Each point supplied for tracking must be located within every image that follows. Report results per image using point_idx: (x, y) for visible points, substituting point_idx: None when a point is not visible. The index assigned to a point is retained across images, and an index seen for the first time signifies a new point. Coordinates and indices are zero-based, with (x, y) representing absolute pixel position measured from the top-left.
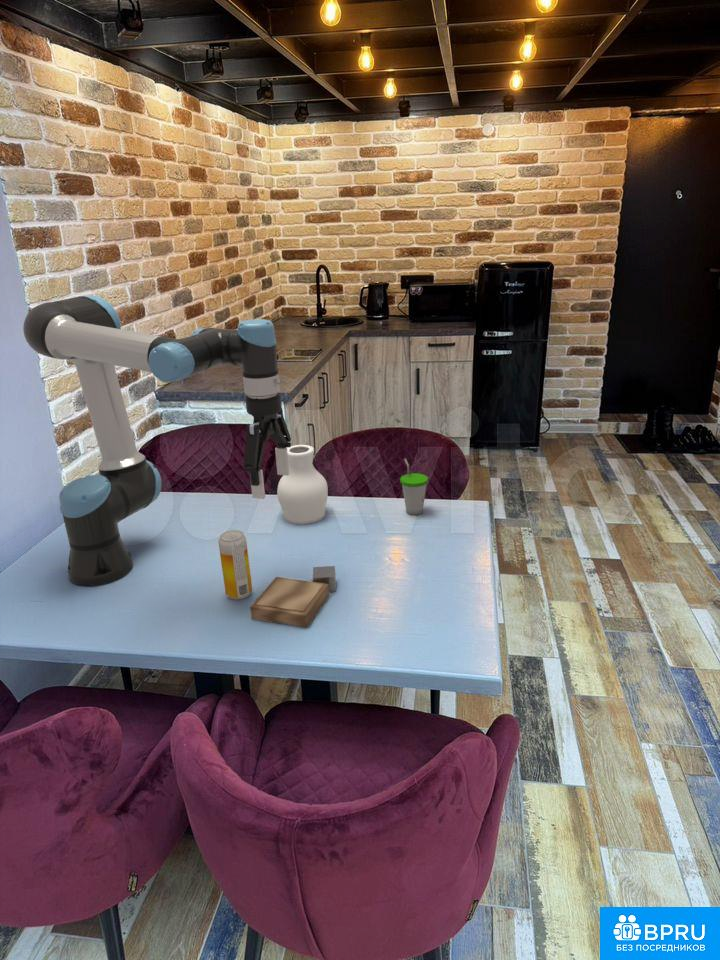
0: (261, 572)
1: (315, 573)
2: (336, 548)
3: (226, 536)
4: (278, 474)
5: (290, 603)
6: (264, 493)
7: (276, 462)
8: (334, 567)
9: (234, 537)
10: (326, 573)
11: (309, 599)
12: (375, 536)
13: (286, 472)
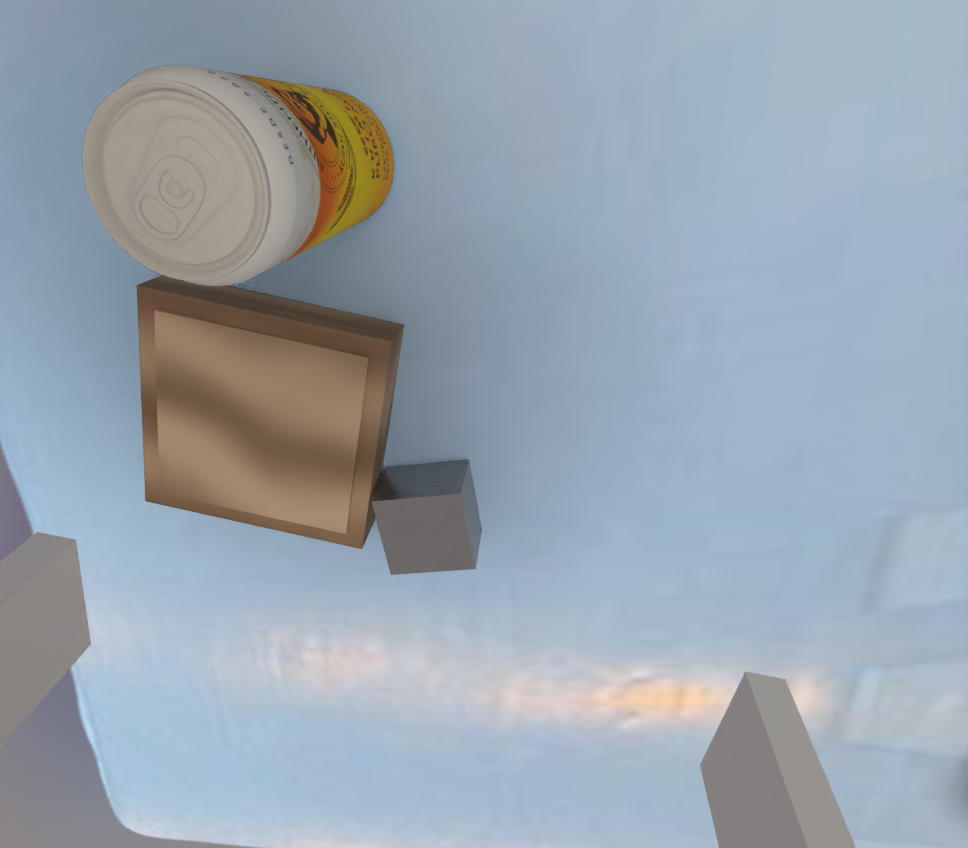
0: (537, 217)
1: (408, 507)
2: (749, 509)
3: (164, 140)
4: (742, 684)
5: (195, 441)
6: (49, 680)
7: (802, 840)
8: (463, 568)
9: (163, 216)
10: (413, 545)
11: (237, 502)
12: (837, 638)
13: (712, 789)
